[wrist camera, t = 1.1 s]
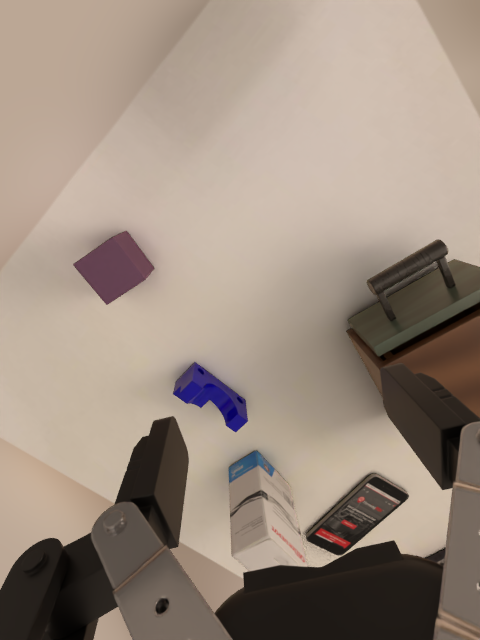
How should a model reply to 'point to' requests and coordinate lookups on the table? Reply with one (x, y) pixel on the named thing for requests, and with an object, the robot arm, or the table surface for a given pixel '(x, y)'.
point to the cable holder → (211, 395)
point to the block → (114, 267)
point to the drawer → (417, 301)
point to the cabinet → (438, 359)
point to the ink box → (263, 516)
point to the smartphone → (357, 514)
